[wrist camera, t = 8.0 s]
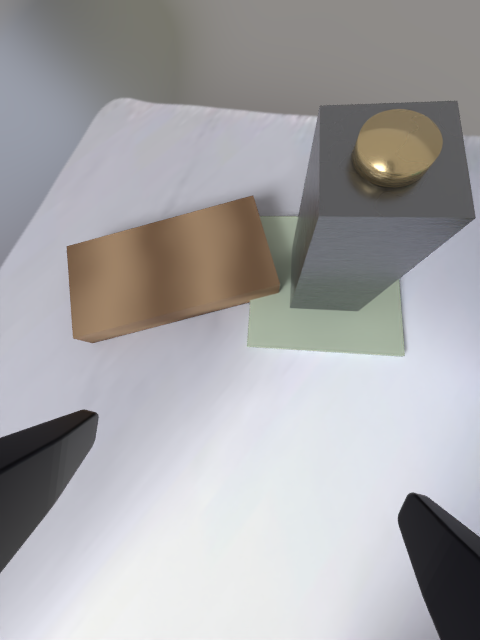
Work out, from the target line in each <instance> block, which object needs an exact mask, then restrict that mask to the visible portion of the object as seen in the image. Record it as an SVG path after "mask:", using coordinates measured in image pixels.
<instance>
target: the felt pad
mask: <svg viewBox="0 0 480 640" xmlns="http://www.w3.org/2000/svg"><path fill="white" fill-rule="evenodd" d="M260 220H261V223H262V226H263V230H264V233H265V236H266V239H267V243H268V246H269V249H270V253H271V256H272V259H273V262H274V266H275V269H276V272H277V276H278V279H279V282H280V288H279V293H276V294H272V295H268V296H265V297H261V298H257V299H253V300H250V310H249V324H248V339H247V347H260V348H276V349H291V350H307V351H323V352H339V353H355V354H371V355H386V356H405V352H404V339H403V325H402V312H401V299H400V285H399V279H398V280H397V281H396V282H394V283H393V284H392V285H391V286H389V287H388V288H387V289H386V290H384V291H383V292H382V293H381V294H379V295H378V296H377V297H376V298H374V299H373V300H372V301H371V302H369V303H368V304H367V305H365V306H364V307H363V308H362V309H360V310H359V311H339V310H319V309H298V308H290V287H291V259H292V246H293V241H294V235H295V230H296V225H297V220H298V216H260Z"/></svg>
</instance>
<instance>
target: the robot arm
mask: <svg viewBox="0 0 480 640" xmlns="http://www.w3.org/2000/svg"><path fill="white" fill-rule="evenodd" d="M97 425H98V414H97V413H96V412H92V411H88V410H80V411H77V412H74V413H71V414H68V415H65V416H62V417H59V418H57V419H54V420H51V421H48V422H45V423H42V424H39V425H36V426H33V427H30V428H27V429H25V430H22V431H19V432H16V433H13V434H10V435H7V436H4V437H1V438H0V573H1V572H2V570H3V569H4V568H5V567H6V565H7V564H8V563H9V561H10V560H11V559H12V558H13V556H14V555H15V554H16V553H17V551H18V550H19V549H20V547H21V546H22V545H23V544H24V542H25V541H26V540H27V539H28V537H29V536H30V535H31V533H32V532H33V531H34V530H35V528H36V527H37V526H38V525H39V523H40V522H41V521H42V520H43V518H44V517H45V516H46V514H47V513H48V512H49V510H50V509H51V508H52V506H53V505H54V504H55V502H56V501H57V499H58V498H59V497H60V495H61V494H62V492H63V491H64V489H65V487H66V486H67V484H68V483H69V481H70V480H71V478H72V477H73V475H74V474H75V472H76V471H77V469H78V468H79V466H80V464H81V463H82V461H83V460H84V458H85V457H86V455H87V454H88V452H89V451H90V449H91V448H92V446H93V444H94V441H95V438H96V431H97ZM398 524H399V528H400V531H401V534H402V537H403V540H404V543H405V546H406V549H407V552H408V554H409V557H410V560H411V563H412V566H413V569H414V572H415V575H416V578H417V581H418V584H419V587H420V590H421V593H422V596H423V598H424V601H425V603H426V606H427V608H428V611H429V613H430V616H431V618H432V620H433V623H434V625H435V628H436V630H437V633H438V635H439V637H440V640H480V537H479V536H477V535H476V534H475V533H474V532H472V531H471V530H470V529H468V528H467V527H466V526H465V525H463V524H462V523H461V522H459V521H458V520H457V519H456V518H454V517H453V516H452V515H450V514H449V513H448V512H447V511H445V510H444V509H443V508H441V507H440V506H439V505H438V504H436V503H435V502H434V501H432V500H431V499H430V498H428V497H427V496H425V495H421V494H417V493H409V494H408V495H407V497H406V499H405V501H404V503H403V505H402V508H401V510H400V512H399V514H398Z"/></svg>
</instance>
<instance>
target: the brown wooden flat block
mask: <svg viewBox="0 0 480 640" xmlns="http://www.w3.org/2000/svg"><path fill="white" fill-rule="evenodd" d="M67 258H68V272H69V287H70V301H71V315H72V330H73V338H74V339H78V340H82V341H86V342H90V343H95V342H99V341H103V340H107V339H110V338H114V337H118V336H122V335H126V334H130V333H134V332H137V331H141V330H145V329H149V328H153V327H157V326H160V325H164V324H168V323H172V322H176V321H180V320H183V319H187V318H191V317H195V316H199V315H203V314H206V313H210V312H214V311H218V310H222V309H226V308H229V307H233V306H237V305H241V304H245V303H249V302H250V300H253V299H257V298H261V297H265V296H268V295H272V294H276V293H279V288H280V282H279V279H278V276H277V272H276V269H275V266H274V262H273V259H272V256H271V253H270V249H269V246H268V243H267V239H266V236H265V233H264V230H263V226H262V223H261V220H260V216H259V213H258V210H257V207H256V203H255V200H254V197H253V196H249V197H246V198H242V199H238V200H235V201H231V202H227V203H224V204H220V205H216V206H213V207H209V208H205V209H202V210H198V211H194V212H191V213H187V214H184V215H180V216H176V217H173V218H169V219H165V220H162V221H158V222H154V223H151V224H147V225H143V226H140V227H136V228H132V229H129V230H125V231H121V232H118V233H114V234H110V235H107V236H103V237H99V238H96V239H92V240H89V241H85V242H81V243H78V244H74V245H70V246H67Z"/></svg>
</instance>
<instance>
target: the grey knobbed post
mask: <svg viewBox="0 0 480 640" xmlns="http://www.w3.org/2000/svg"><path fill="white" fill-rule="evenodd" d="M474 219H475V211H474V205H473V198H472V192H471V186H470V179H469V173H468V166H467V160H466V153H465V147H464V141H463V134H462V128H461V122H460V115H459V109H458V103H457V101H438V102H412V103H383V104H357V105H356V104H355V105H327V106H320V108H319V113H318V118H317V123H316V128H315V133H314V138H313V143H312V149H311V154H310V159H309V164H308V169H307V174H306V179H305V184H304V189H303V195H302V200H301V205H300V210H299V215H298V220H297V225H296V230H295V235H294V241H293V246H292V259H291V287H290V308H298V309H319V310H339V311H359V310H360V309H362V308H363V307H364V306H365V305H367V304H368V303H369V302H371V301H372V300H373V299H374V298H376V297H377V296H378V295H379V294H381V293H382V292H383V291H384V290H386V289H387V288H388V287H389V286H391V285H392V284H393V283H394V282H396V281H397V280H398V279H399V278H401V277H402V276H403V275H404V274H406V273H407V272H408V271H409V270H411V269H412V268H413V267H415V266H416V265H417V264H418V263H420V262H421V261H422V260H423V259H425V258H426V257H427V256H428V255H430V254H431V253H432V252H433V251H435V250H436V249H437V248H438V247H440V246H441V245H442V244H443V243H445V242H446V241H447V240H448V239H450V238H451V237H452V236H454V235H455V234H456V233H457V232H459V231H460V230H461V229H462V228H464V227H465V226H466V225H467V224H469V223H470V222H471V221H472V220H474Z"/></svg>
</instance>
